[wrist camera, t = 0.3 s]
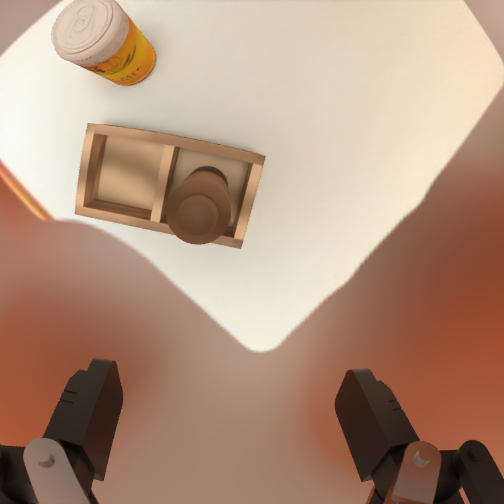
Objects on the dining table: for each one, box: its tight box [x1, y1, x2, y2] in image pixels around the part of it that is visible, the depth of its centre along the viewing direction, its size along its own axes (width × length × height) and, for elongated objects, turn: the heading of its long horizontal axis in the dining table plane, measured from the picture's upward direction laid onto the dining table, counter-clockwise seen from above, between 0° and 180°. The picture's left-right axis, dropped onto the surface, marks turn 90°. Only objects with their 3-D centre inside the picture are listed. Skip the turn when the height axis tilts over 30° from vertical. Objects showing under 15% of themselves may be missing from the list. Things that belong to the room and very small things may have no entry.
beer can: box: [51, 0, 155, 85], centre depth 21 cm, size 6×6×15 cm
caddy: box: [75, 123, 266, 249], centre depth 26 cm, size 10×19×16 cm, turn 76°
